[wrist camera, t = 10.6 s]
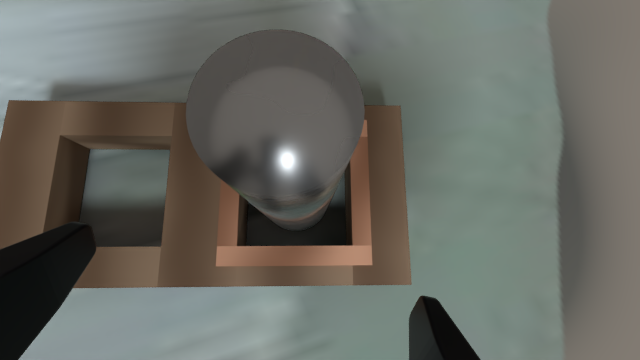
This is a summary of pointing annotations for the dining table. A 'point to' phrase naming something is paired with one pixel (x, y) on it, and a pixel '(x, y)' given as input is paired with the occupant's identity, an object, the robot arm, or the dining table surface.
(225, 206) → the brown flat block
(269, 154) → the peg
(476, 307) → the dining table surface
